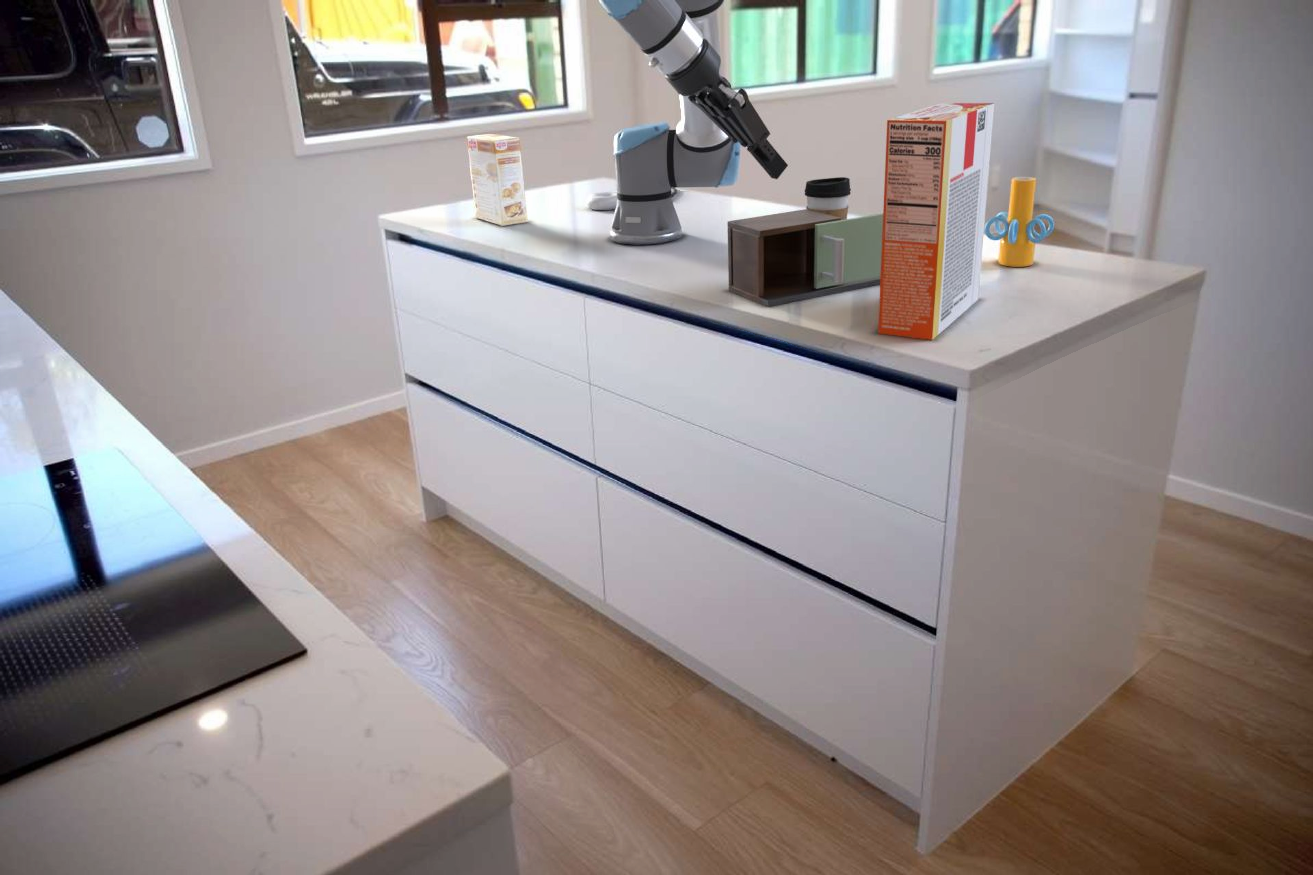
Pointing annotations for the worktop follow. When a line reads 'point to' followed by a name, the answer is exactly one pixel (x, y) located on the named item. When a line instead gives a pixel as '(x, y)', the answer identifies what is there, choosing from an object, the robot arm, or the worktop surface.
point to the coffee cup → (828, 196)
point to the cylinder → (1019, 225)
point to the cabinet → (779, 258)
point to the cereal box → (933, 216)
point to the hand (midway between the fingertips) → (779, 171)
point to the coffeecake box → (497, 178)
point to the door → (848, 250)
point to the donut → (602, 201)
